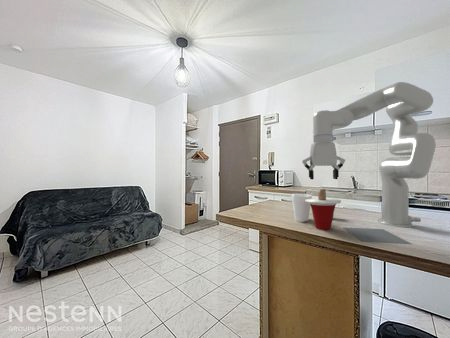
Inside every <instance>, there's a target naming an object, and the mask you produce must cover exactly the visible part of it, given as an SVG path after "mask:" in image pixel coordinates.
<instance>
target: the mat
mask: <svg viewBox="0 0 450 338" xmlns="http://www.w3.org/2000/svg"><path fill="white" fill-rule="evenodd" d="M342 228H343V229H344V230H346V231H347V232H349V234H351V235H352V236H354V237H355V238H356V239H358V241H361V242H367V243H369V242H370V243H381V244H382V243H383V244H384V243H385V244H386V243H387V244H400V245H402V244H403V245H412V243H411V242H410V241H408V240H405V239H403V238H401V237H399V236H398V235H395V234H394V233H392V232H389V231H388V230H386V229H384V228H366V227H365V228H364V227H362V228H361V227H347V226H346V227H343V226H342Z"/></svg>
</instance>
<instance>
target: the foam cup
mask: <svg viewBox="0 0 450 338" xmlns="http://www.w3.org/2000/svg"><path fill="white" fill-rule="evenodd" d="M306 199H313V198H312V194H307V193H291V200H292V201H291V202H292V208H293V214H294V217H293V218H294V221H296V222H299V223H305V222H308V221H309V218H310V210H311V205H310V204H309V203H307V202H305V200H306Z"/></svg>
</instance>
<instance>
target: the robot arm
mask: <svg viewBox="0 0 450 338" xmlns="http://www.w3.org/2000/svg"><path fill="white" fill-rule="evenodd" d="M433 104H434V97H433V96H432V94H431V93H430V92H429V91H427V90H426V89H424V88H421V87H419V86H416V85H415V84H412V83H409V82H404V81H403V82H402V81H399V82H395V83H393V84H391V85H388V86H385V87H383V88H380V89H378V90H376V91H373V92H372V93H369V94H367V95H366V96H363V97H362V98H359V99H357V100H355V101H353V102H351V103H350V104H347V105H345V106H343V107H341V108H338V109H337V110H325V109H324V110H319V111H316V112H315V113H313V116H312V123H313V124H312V125H313V126H312V127H313V129H312V131H313V132H312V133H313V134H312V135H313V136H312V137H313V143H311V145H310V151H309V152H310V153H309V157H307V158H305V159H303V160H302V164H303V167H305V168H306V170H308V178H309V179H310V180H314V178H315V177H314V170H313V169H314V168H315V167H321V166H322V167H325V166H329V167H330V166H331V167H332V168H333V170H332V178H333V179H334V180H338V178H339V172H340V171H339V170H341V168H342V167H343V166H344V164H345V163H346V159H345V158H342V157H341V156H338V154H337V148H336V145H335V142H334V141H337V136H334V135H333V134H334V133H333V131H334V130H340V129H342V128H346V127H348V126H350V125H351V124H352V123H353V122H354V121H357V120H360V119H364V118H366V117H368V116H371V115H373V114H374V113H377V112H378V111H381V110H383V109H385V112H386V114H387V116H388V117H389V118H390V120H391V121H392V124H393V131H392V135H391V139H390V143H389V146H388V151H389V153H390V155H394V156H397V157H388V158H385V159H383V160H382V161H381V162H380V164H379V167H378V168H379V173H380V177H381V217H380V218H377V223H380V224H383V225H387V226H391V227H397V228H413V227H414V225H413V222H415V223H420V222H421V220H422V219H421V218H420V217H417V216H416V217H413V216H410V215H409V202H410V201H409V194H410V193H409V190H410V189H409V185H408V183H407V181H406V180H405V179H411V180H412V179H413V180H416V179H417V180H419V179H423V178H425V177H426V176H427V175H428V174H429V172H430V169H431V166H432V163H433V162H432V161H433V159H434V156H435V155H434V154H435V152H436V147H437V146H436V145H437V144H436V139H435V138H434V136H433V135H432V134H431V133H428V132H418V131H419V124H418V122H417V121H416V119H415V118H413V117H412V116H411V115H412V114H416V113H421V112H424V111H426V110H429V109H430V108H431V107H432V106H433ZM398 156H399V157H398ZM400 156H401V157H400ZM338 161H339V163H338ZM307 162H309V164H310V165H308V163H307ZM337 163H338V164H337Z"/></svg>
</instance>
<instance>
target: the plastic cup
mask: <svg viewBox="0 0 450 338" xmlns="http://www.w3.org/2000/svg"><path fill="white" fill-rule="evenodd" d="M309 204H310V209H311V211H312V217H313V221H314V222H313V223H314V227H315V228H316V229H317V230H321V231H329V230H331V229H332V228H331V227H332V223H333V220H334V216H333V214H334V213H335V208H336V206H337V204H315V203H309ZM334 215H335V214H334Z"/></svg>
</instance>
